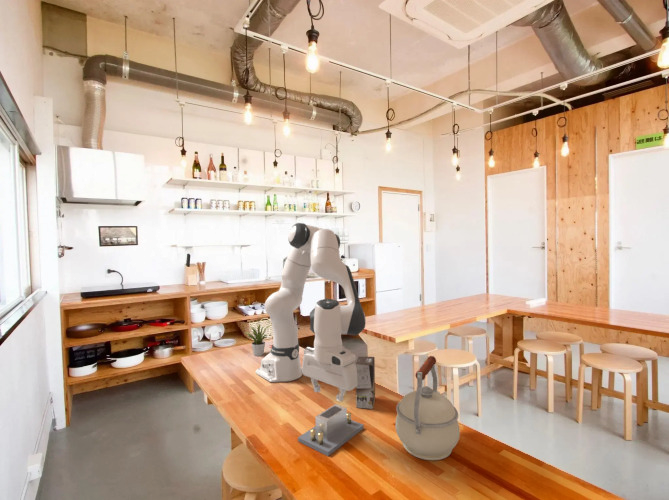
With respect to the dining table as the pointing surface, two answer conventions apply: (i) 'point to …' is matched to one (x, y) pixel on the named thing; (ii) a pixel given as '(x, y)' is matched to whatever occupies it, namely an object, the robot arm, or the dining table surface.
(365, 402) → the coffee box
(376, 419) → the dining table surface
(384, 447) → the dining table surface
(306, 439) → the pin tray
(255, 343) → the house plant
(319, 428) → the block
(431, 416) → the kettle
